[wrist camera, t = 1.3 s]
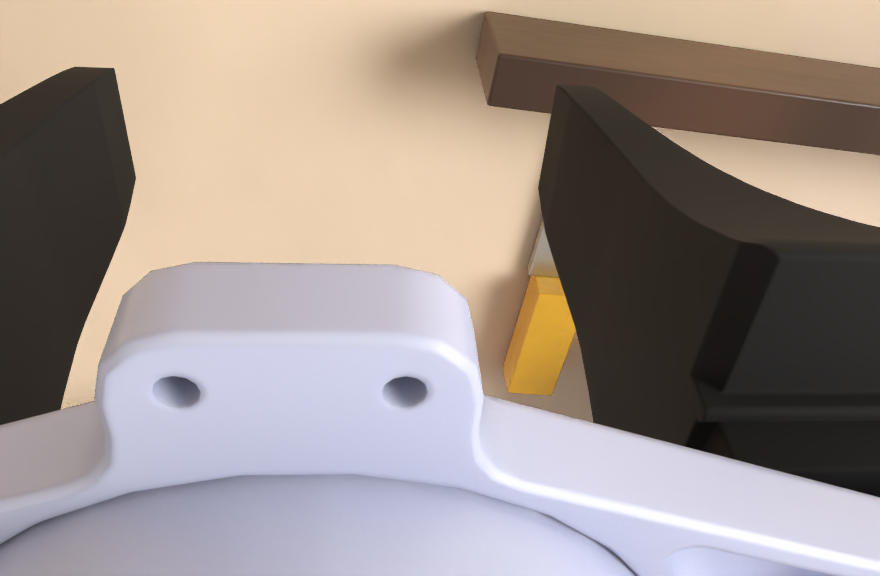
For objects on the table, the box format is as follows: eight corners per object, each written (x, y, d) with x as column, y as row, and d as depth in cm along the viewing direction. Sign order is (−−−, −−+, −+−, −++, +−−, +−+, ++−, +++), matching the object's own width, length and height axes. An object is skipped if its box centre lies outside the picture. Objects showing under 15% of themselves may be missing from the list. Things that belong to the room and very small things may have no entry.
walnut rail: (1141, 105, 27) (1214, 151, 24) (1110, 145, 28) (1177, 193, 25) (485, 9, 23) (498, 53, 21) (475, 59, 24) (486, 106, 22)
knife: (550, 370, 33) (556, 396, 32) (497, 367, 32) (501, 392, 31) (648, 98, 25) (660, 120, 24) (580, 89, 25) (590, 111, 24)
